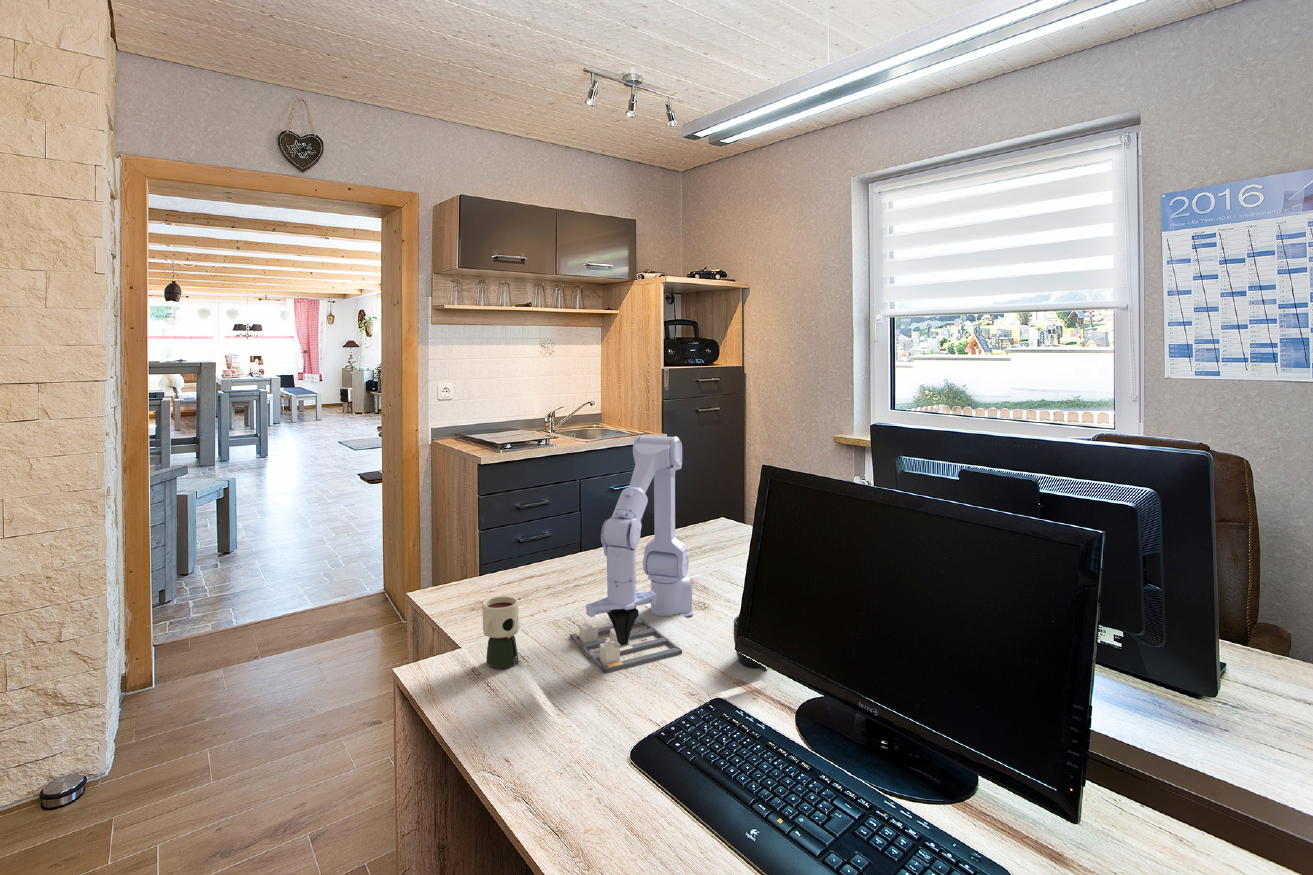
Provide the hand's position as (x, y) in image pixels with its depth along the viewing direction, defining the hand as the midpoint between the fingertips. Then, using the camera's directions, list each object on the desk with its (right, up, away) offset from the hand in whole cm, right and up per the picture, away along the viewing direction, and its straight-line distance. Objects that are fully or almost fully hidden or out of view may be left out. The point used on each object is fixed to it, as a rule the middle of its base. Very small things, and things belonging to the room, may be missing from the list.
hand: (622, 643), depth 135 cm
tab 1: (-8, -2, +9) cm, 12 cm away
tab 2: (-3, -4, -1) cm, 4 cm away
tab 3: (-1, -3, +6) cm, 7 cm away
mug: (+27, -4, +1) cm, 27 cm away
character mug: (-24, -5, +1) cm, 25 cm away
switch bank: (0, -4, +7) cm, 8 cm away
